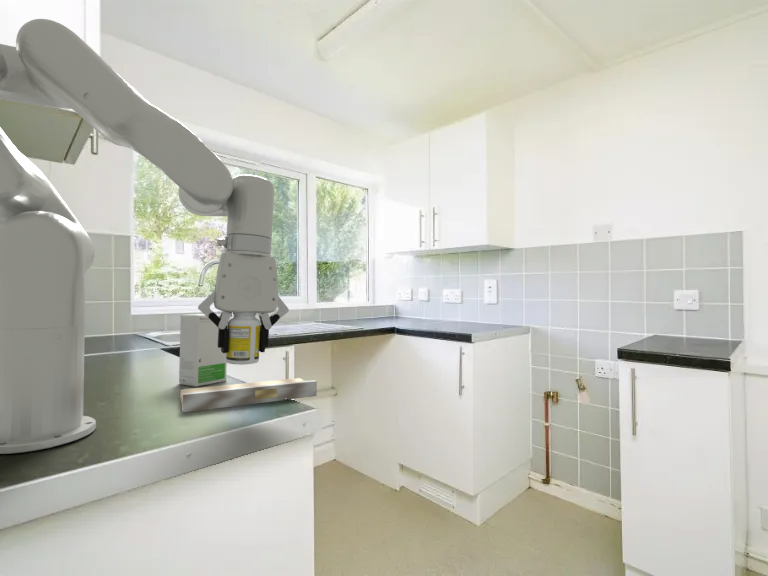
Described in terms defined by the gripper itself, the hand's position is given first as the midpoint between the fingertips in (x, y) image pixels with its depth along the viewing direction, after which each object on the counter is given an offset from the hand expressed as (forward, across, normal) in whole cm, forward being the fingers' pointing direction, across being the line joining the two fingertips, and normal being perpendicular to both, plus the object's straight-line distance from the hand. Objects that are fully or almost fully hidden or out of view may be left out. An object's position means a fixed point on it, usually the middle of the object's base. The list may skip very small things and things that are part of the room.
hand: (243, 350), depth 69 cm
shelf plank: (+10, +3, +10) cm, 15 cm away
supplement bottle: (+2, 0, 0) cm, 2 cm away
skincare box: (+11, -4, +27) cm, 29 cm away
